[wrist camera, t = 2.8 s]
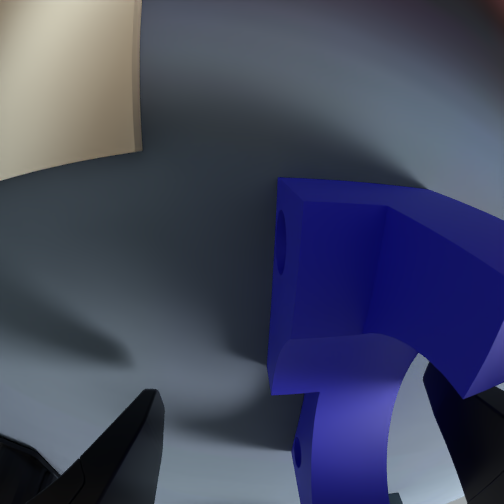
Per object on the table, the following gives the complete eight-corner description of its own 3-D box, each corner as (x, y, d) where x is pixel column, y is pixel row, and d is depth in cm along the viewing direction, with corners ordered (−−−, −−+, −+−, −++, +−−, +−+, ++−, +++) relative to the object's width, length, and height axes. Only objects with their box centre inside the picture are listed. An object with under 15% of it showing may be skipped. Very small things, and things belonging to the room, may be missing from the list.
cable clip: (277, 176, 7) (397, 296, 2) (425, 188, 8) (594, 271, 2) (259, 450, 12) (270, 562, 6) (349, 440, 12) (382, 540, 7)
